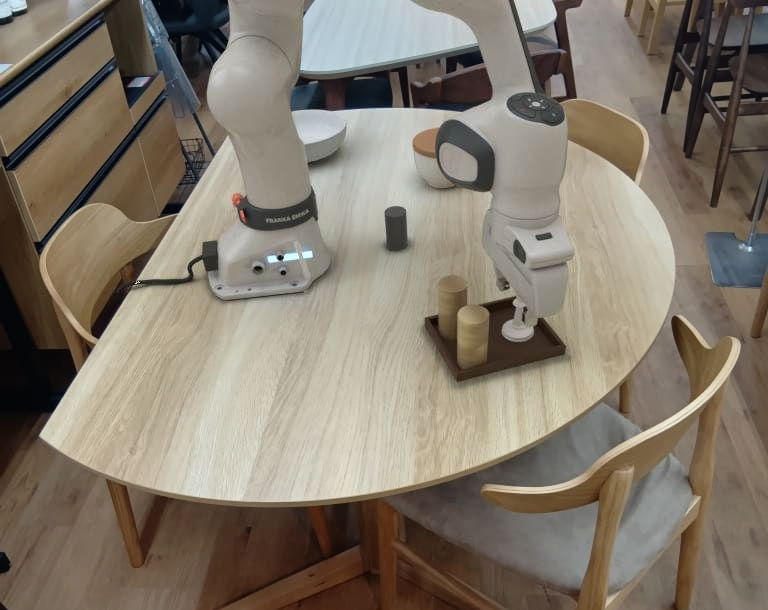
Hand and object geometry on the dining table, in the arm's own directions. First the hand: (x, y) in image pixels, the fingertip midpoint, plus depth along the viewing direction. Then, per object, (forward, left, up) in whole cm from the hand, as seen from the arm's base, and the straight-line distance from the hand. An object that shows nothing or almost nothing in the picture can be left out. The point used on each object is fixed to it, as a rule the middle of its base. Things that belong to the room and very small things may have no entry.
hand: (515, 305), depth 100 cm
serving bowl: (-16, +80, -6) cm, 82 cm away
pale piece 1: (-8, +4, -5) cm, 11 cm away
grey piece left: (-8, +33, -6) cm, 35 cm away
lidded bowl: (+9, +54, -6) cm, 55 cm away
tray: (-3, 0, -6) cm, 7 cm away
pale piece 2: (-8, -4, -5) cm, 11 cm away
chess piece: (+1, 0, -6) cm, 6 cm away
